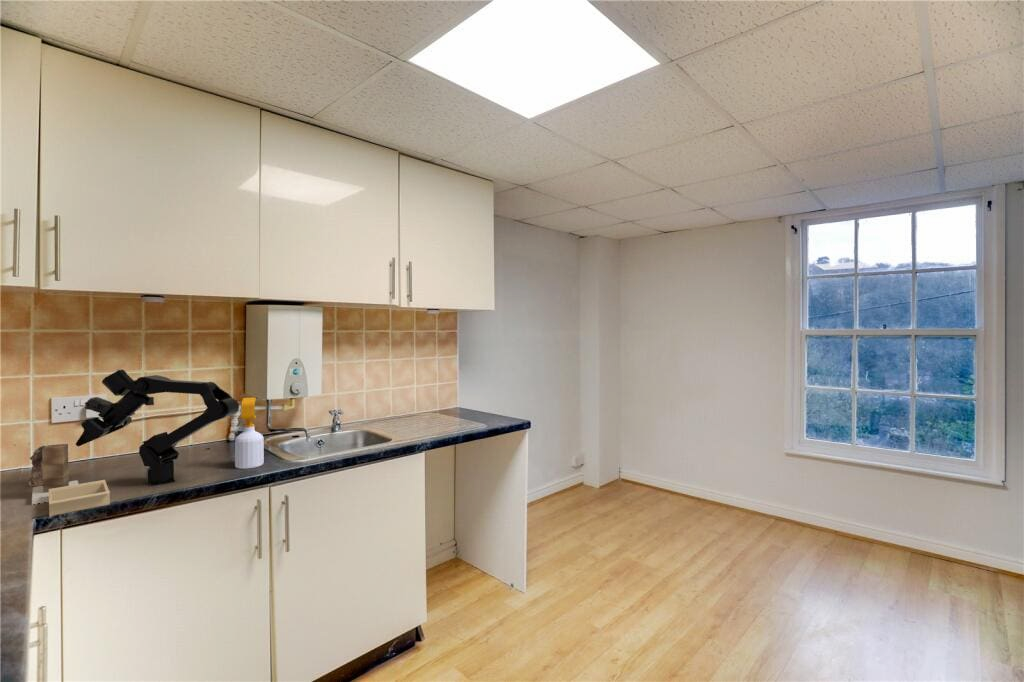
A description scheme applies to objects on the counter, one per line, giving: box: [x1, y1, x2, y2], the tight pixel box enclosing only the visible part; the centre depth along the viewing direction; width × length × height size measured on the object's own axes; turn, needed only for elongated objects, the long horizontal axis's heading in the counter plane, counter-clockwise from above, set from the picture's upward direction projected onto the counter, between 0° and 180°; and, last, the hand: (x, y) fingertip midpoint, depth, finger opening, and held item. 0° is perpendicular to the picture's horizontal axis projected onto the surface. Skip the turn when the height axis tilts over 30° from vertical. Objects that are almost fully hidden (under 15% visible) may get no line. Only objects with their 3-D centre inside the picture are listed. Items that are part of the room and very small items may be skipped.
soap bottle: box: [234, 397, 265, 470], centre depth 171 cm, size 9×9×25 cm
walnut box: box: [42, 443, 70, 493], centre depth 141 cm, size 4×4×13 cm
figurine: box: [28, 445, 47, 487], centre depth 151 cm, size 7×7×12 cm
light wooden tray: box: [48, 479, 111, 517], centre depth 133 cm, size 12×15×4 cm
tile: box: [31, 479, 80, 506], centre depth 141 cm, size 10×14×2 cm
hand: (85, 441), depth 149 cm, fingers open, 9 cm apart
